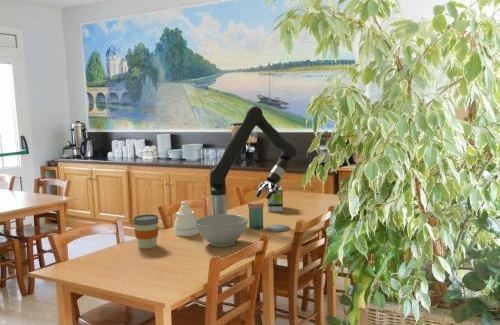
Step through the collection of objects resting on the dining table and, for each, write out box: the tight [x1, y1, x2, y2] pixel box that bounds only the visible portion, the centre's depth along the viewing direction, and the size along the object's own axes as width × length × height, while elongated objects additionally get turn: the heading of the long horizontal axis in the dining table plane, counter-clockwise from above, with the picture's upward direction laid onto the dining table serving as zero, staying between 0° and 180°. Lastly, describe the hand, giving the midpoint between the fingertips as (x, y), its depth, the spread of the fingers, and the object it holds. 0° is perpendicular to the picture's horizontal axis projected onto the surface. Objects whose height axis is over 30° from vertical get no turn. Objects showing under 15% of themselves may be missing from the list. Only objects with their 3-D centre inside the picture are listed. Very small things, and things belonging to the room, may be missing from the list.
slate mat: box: [266, 224, 291, 233], centre depth 278 cm, size 13×13×1 cm
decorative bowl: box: [195, 213, 249, 248], centre depth 253 cm, size 27×27×12 cm
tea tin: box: [248, 207, 264, 230], centre depth 281 cm, size 6×6×12 cm
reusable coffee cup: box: [133, 214, 159, 249], centre depth 251 cm, size 13×13×15 cm
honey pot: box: [173, 201, 199, 237], centre depth 274 cm, size 13×13×18 cm
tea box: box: [267, 185, 284, 213], centre depth 326 cm, size 15×10×15 cm, turn 179°
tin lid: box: [247, 201, 265, 209], centre depth 280 cm, size 6×6×4 cm
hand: (262, 197), depth 283 cm, fingers open, 8 cm apart
